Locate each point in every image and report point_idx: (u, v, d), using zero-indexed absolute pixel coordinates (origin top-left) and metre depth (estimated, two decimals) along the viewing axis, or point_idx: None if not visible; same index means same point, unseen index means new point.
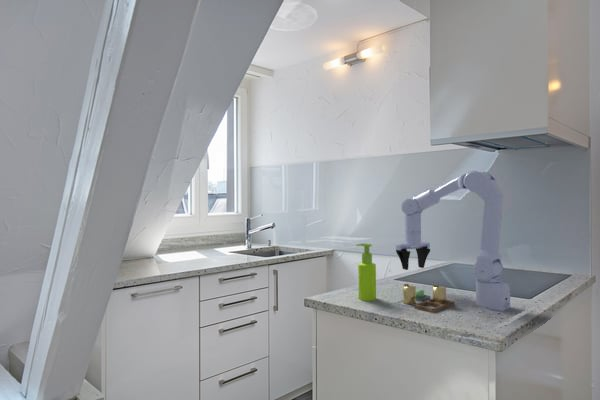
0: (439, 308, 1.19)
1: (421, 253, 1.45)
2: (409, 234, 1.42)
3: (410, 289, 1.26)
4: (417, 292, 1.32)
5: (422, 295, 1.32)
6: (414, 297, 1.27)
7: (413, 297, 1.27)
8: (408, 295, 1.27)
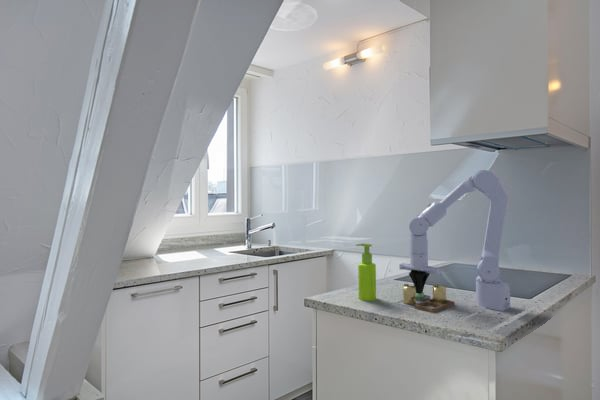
0: (439, 308, 1.19)
1: None
2: None
3: (410, 289, 1.26)
4: (417, 294, 1.32)
5: None
6: (414, 297, 1.27)
7: (413, 297, 1.27)
8: (408, 295, 1.26)
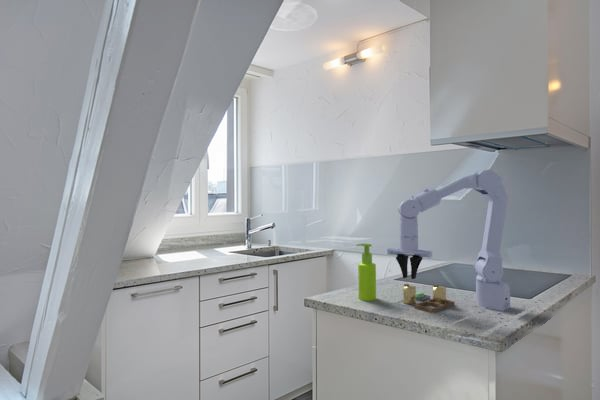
0: (439, 308, 1.19)
1: None
2: (400, 239, 1.29)
3: (410, 289, 1.26)
4: (417, 295, 1.32)
5: None
6: (414, 297, 1.27)
7: (413, 298, 1.26)
8: (408, 295, 1.26)
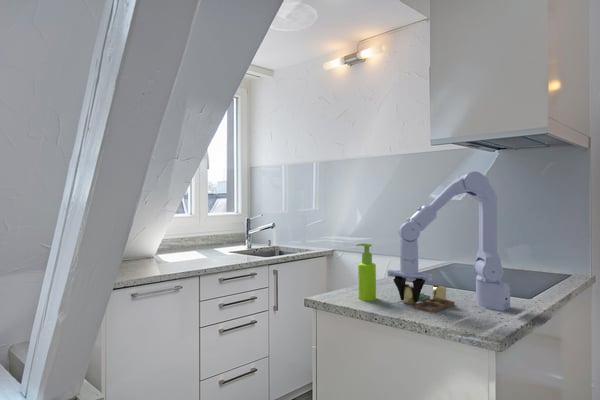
0: (439, 308, 1.19)
1: None
2: (400, 261, 1.29)
3: (409, 289, 1.27)
4: None
5: None
6: None
7: (413, 297, 1.27)
8: (408, 294, 1.27)
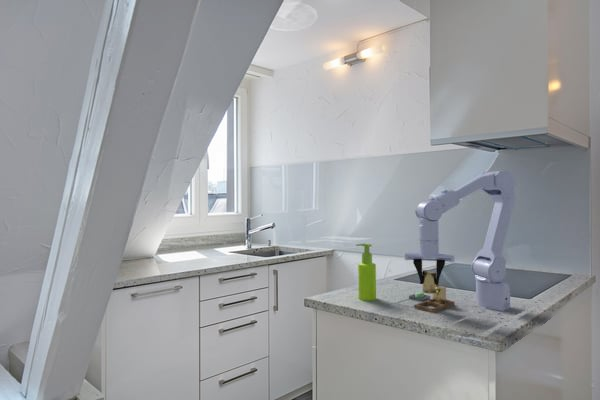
0: (439, 308, 1.19)
1: None
2: (420, 243, 1.22)
3: (432, 275, 1.20)
4: (417, 295, 1.32)
5: None
6: (435, 283, 1.21)
7: (435, 284, 1.20)
8: (430, 281, 1.20)
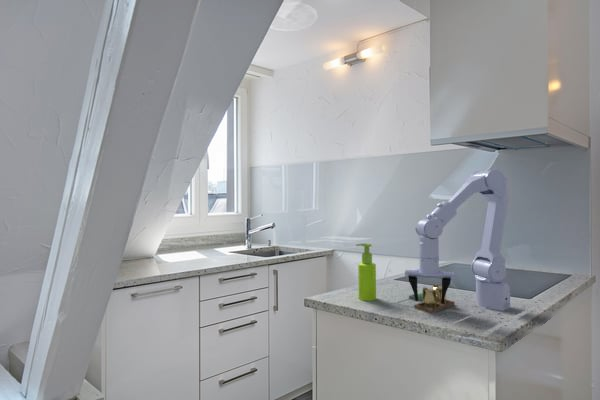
0: (439, 308, 1.19)
1: None
2: (420, 260, 1.22)
3: (432, 293, 1.20)
4: None
5: None
6: (435, 301, 1.21)
7: (435, 301, 1.20)
8: (430, 299, 1.20)
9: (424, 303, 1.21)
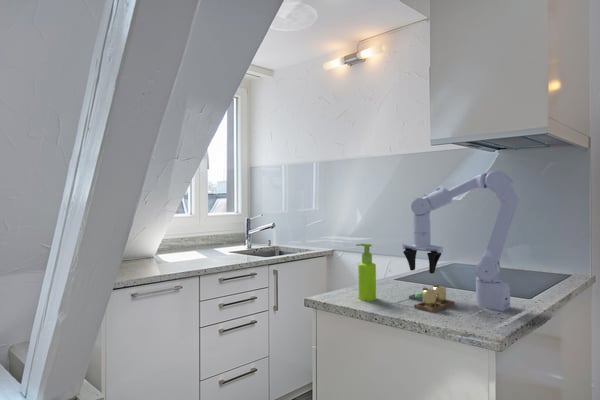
0: (439, 308, 1.19)
1: None
2: None
3: (432, 293, 1.20)
4: (417, 295, 1.32)
5: None
6: (435, 301, 1.21)
7: (435, 301, 1.20)
8: (430, 299, 1.20)
9: (424, 303, 1.21)
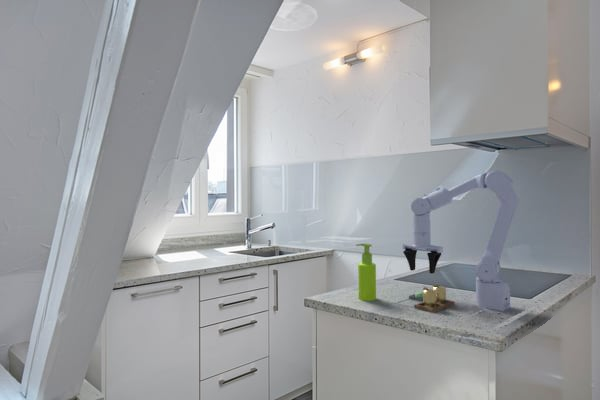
0: (439, 308, 1.19)
1: None
2: None
3: (433, 293, 1.20)
4: (417, 295, 1.32)
5: None
6: None
7: (435, 301, 1.20)
8: (431, 299, 1.20)
9: (424, 303, 1.21)
